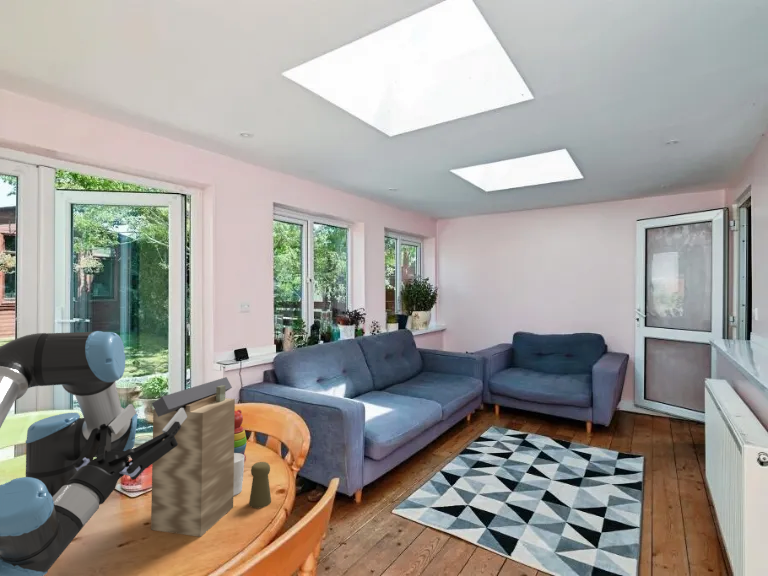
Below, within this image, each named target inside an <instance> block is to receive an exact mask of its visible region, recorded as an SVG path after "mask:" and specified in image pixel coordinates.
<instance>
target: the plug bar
mask: <svg viewBox="0 0 768 576" xmlns="http://www.w3.org/2000/svg"><path fill="white" fill-rule="evenodd" d="M221 385H225V393H226V392H227V391H229V390H230V389H232V388H233V387H232V385H231V383H230V381H229V378H228V377H227V376H226V377H222V378H220V379H219V378H218V379H216V380H215V379H214V380H212V381H210V382H206V383H202V384H199V385H196V386H193V387H190V388H186V389H183V390H179V391H175V392H172V393H169V394H166V395H162V396H161V397H159V398H158V399H156V400H155V401H154V402H152V403H151V404H152V407H153V409H155V411H156V413H157V415H158V417H159V416H162V415H165V414H167V413H170V412H173V411H176V410H178V409H180V408H184V407H186V405H189V404H191V403H194V402H196V401H199V400H202V399H204V398H207V397H209V396H212V395H214V394H216V387H218V386H221Z"/></svg>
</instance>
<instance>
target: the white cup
mask: <svg viewBox="0 0 768 576" xmlns="http://www.w3.org/2000/svg"><path fill="white" fill-rule="evenodd" d="M244 469H245V462H244V455H243V454H240V453H234V487H233V497H235V496H237V495H239V494H240V493H241V492H242V491H243V490H242V489H243V481H244Z"/></svg>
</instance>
